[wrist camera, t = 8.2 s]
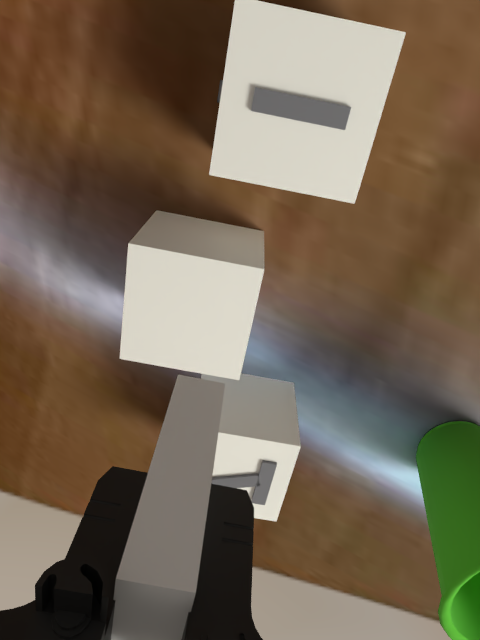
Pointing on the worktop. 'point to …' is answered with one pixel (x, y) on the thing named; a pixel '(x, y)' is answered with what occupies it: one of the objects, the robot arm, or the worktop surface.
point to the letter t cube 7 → (257, 440)
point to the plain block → (191, 294)
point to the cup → (454, 521)
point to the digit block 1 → (301, 99)
